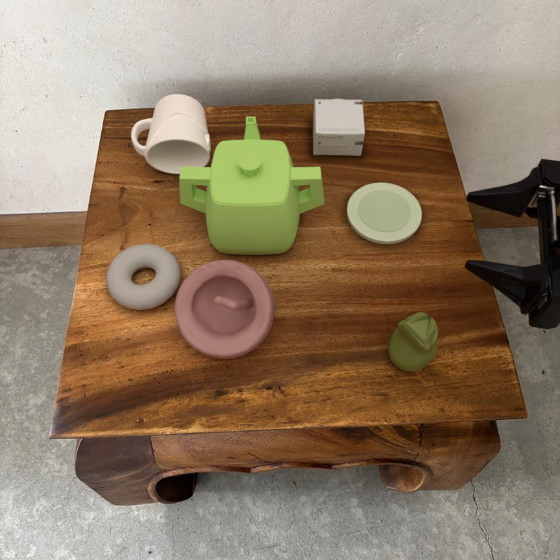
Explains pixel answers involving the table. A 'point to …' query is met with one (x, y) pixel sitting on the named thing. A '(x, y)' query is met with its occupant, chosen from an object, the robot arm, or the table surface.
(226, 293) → the mortar and pestle
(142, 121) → the mug
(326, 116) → the small box
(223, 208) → the teapot
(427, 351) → the olive green lumpy piece
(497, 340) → the table surface
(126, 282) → the donut
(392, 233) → the plate
